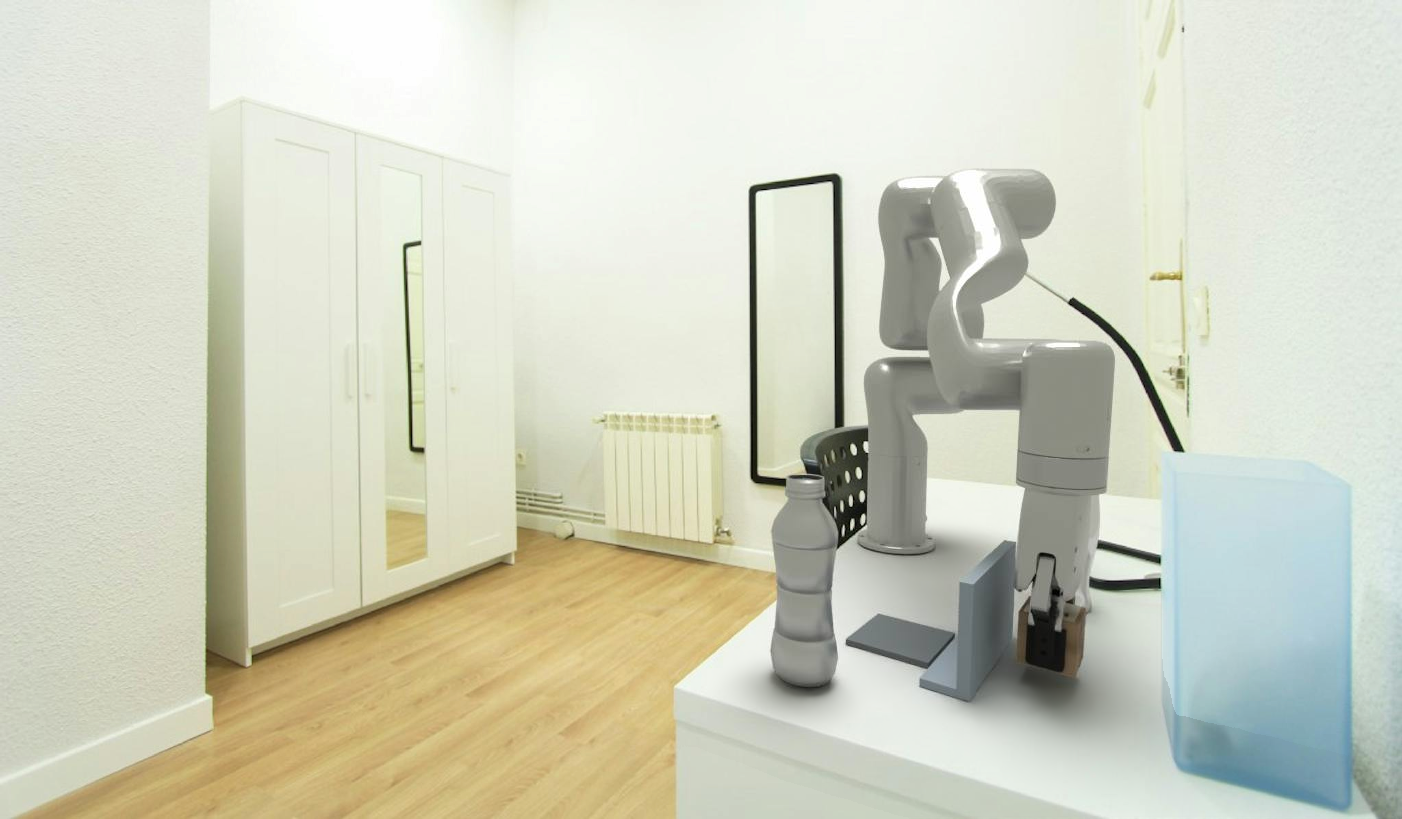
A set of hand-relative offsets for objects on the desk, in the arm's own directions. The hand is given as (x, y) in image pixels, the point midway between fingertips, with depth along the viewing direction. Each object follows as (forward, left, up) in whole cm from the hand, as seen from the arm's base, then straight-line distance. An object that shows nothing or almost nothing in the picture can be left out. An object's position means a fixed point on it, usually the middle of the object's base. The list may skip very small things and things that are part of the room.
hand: (1050, 653), depth 62 cm
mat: (+1, -15, -3) cm, 15 cm away
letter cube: (0, 0, -1) cm, 1 cm away
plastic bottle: (+15, -19, -3) cm, 24 cm away
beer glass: (-22, -2, -3) cm, 23 cm away
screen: (+1, -7, -3) cm, 8 cm away
